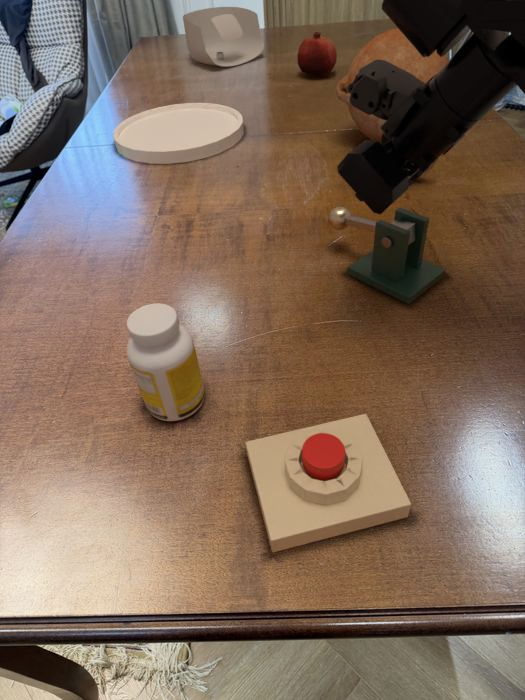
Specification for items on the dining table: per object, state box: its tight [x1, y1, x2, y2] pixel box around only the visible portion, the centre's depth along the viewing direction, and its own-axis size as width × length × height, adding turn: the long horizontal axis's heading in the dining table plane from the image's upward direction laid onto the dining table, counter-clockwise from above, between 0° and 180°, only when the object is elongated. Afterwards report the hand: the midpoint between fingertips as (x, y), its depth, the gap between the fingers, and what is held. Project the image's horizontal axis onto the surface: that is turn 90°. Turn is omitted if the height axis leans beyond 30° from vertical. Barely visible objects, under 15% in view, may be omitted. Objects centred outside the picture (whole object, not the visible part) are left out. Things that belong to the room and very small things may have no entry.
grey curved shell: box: [182, 6, 265, 67], centre depth 149 cm, size 20×19×12 cm
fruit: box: [296, 31, 338, 77], centre depth 131 cm, size 11×10×10 cm
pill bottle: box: [126, 302, 206, 422], centre depth 50 cm, size 6×6×12 cm
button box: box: [245, 413, 412, 553], centre depth 44 cm, size 10×12×4 cm
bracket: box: [347, 207, 447, 305], centre depth 65 cm, size 10×8×8 cm
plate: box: [112, 102, 245, 165], centre depth 109 cm, size 28×28×2 cm
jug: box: [335, 27, 449, 179], centre depth 90 cm, size 20×19×30 cm
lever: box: [328, 205, 415, 245], centre depth 67 cm, size 13×3×3 cm, turn 43°
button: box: [302, 433, 345, 480], centre depth 43 cm, size 4×4×2 cm
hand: (359, 197), depth 59 cm, fingers closed
